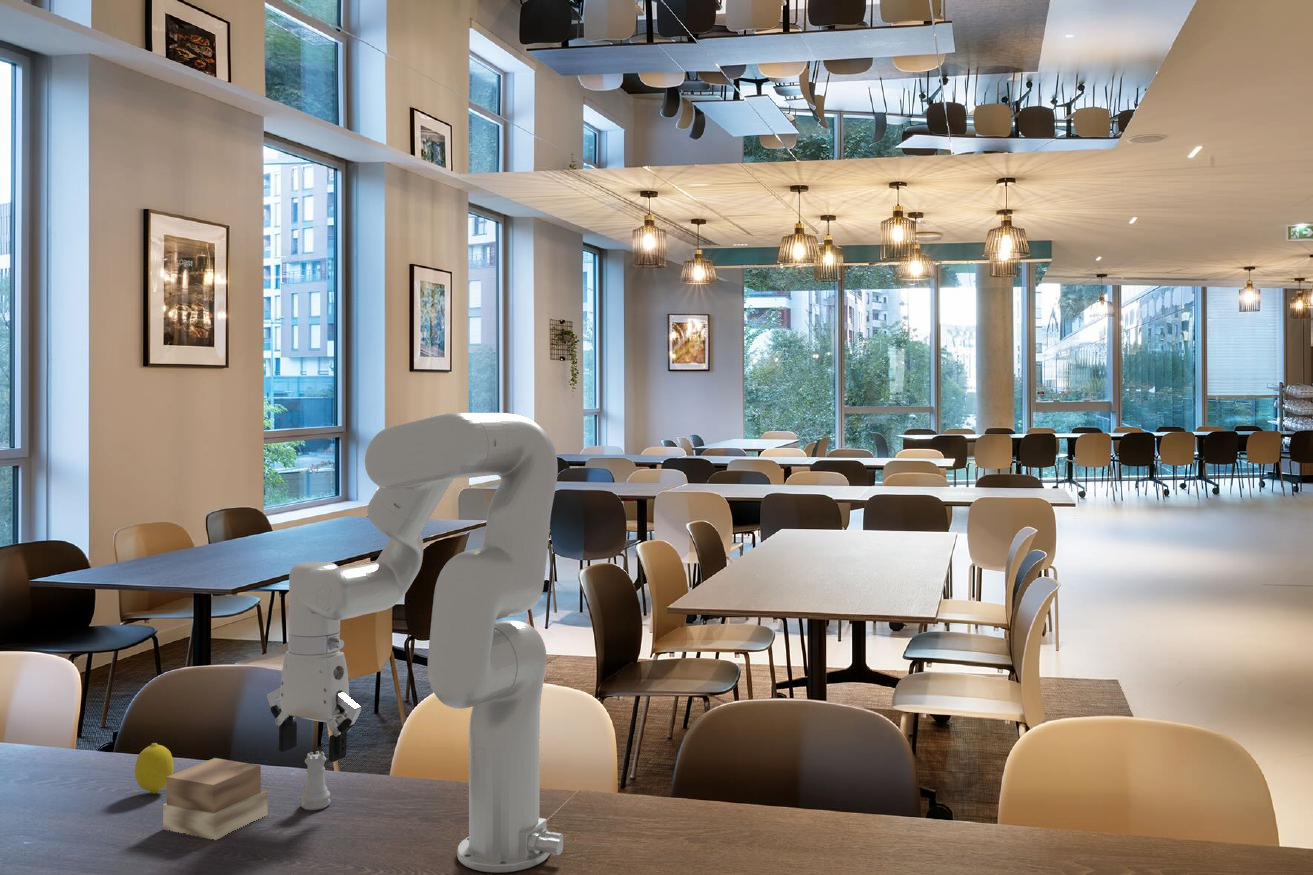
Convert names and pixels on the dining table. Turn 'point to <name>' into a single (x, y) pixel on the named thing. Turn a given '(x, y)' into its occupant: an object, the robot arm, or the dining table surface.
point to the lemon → (153, 767)
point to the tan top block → (213, 785)
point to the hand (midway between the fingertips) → (312, 754)
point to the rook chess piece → (315, 783)
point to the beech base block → (215, 817)
